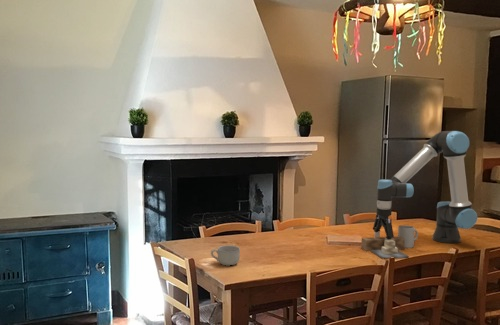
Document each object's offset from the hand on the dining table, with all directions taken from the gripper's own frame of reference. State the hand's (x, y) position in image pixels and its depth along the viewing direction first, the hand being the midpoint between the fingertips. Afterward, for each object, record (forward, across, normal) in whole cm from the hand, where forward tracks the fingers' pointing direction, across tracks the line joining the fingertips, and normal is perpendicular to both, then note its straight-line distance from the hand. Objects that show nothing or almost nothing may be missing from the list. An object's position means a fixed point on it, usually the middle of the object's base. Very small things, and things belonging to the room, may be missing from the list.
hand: (382, 246), depth 258 cm
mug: (+1, -4, +17) cm, 18 cm away
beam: (+1, 0, 0) cm, 1 cm away
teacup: (+2, +16, -88) cm, 89 cm away
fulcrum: (+1, +12, -2) cm, 12 cm away
